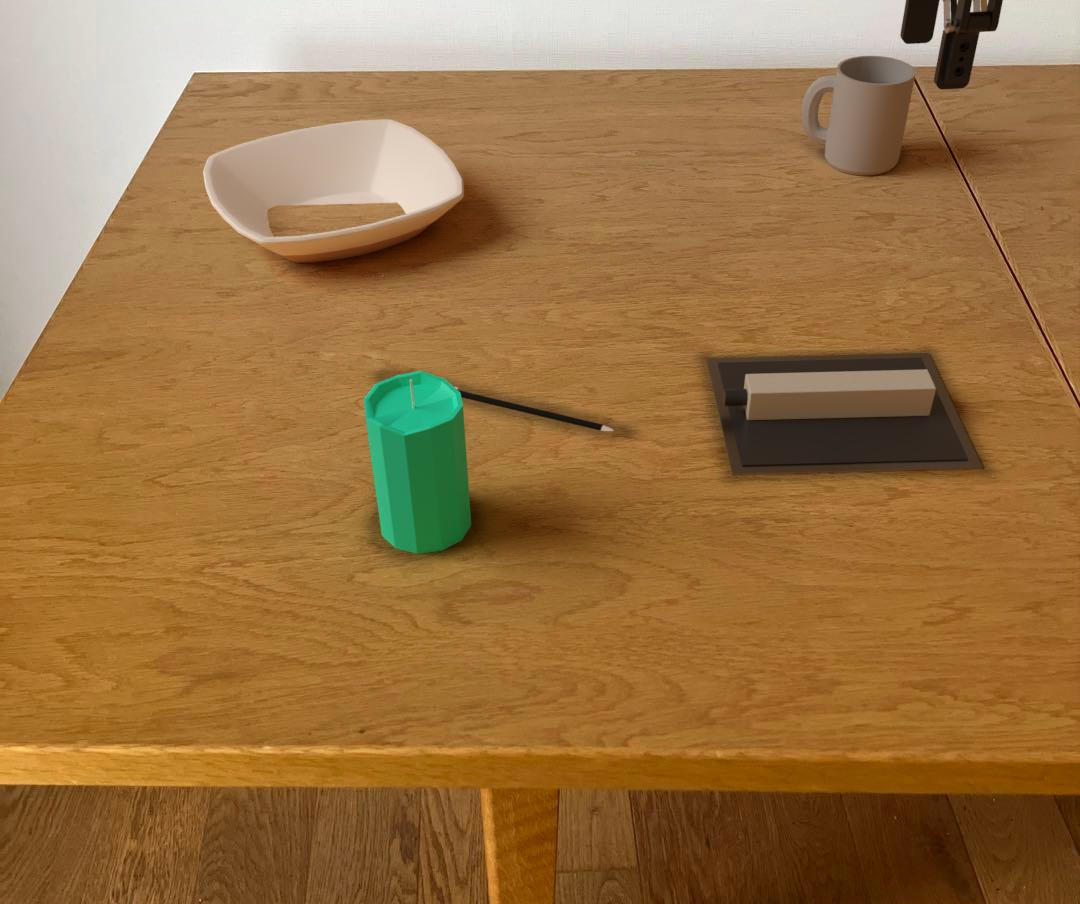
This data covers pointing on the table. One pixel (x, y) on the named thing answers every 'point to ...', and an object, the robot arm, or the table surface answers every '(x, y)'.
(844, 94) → the cup
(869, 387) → the stylus
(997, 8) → the robot arm
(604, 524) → the table surface
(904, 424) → the tablet
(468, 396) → the black pencil
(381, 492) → the candle
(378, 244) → the bowl
